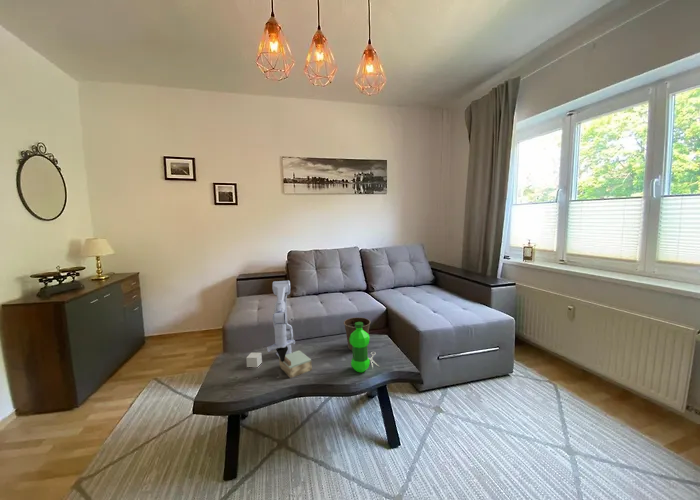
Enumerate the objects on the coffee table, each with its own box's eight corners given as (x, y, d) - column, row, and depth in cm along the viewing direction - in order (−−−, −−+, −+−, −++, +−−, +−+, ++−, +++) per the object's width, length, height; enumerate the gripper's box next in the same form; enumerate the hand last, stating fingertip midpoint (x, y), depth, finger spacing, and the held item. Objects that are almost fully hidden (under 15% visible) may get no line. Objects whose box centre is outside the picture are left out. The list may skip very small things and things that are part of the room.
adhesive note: (262, 362, 161) (261, 352, 161) (257, 368, 156) (257, 357, 155) (251, 362, 162) (251, 352, 161) (247, 368, 156) (246, 357, 155)
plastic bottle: (355, 363, 157) (353, 318, 154) (373, 367, 152) (372, 321, 149) (347, 372, 148) (345, 325, 145) (366, 376, 143) (364, 328, 140)
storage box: (290, 378, 144) (289, 368, 144) (279, 367, 156) (279, 358, 155) (311, 370, 151) (311, 361, 151) (300, 360, 163) (299, 351, 162)
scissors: (373, 350, 171) (386, 366, 152) (373, 351, 171) (386, 367, 152) (356, 352, 169) (367, 369, 149) (356, 354, 169) (367, 370, 149)
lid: (289, 368, 144) (289, 363, 143) (279, 358, 155) (278, 353, 155) (311, 360, 151) (311, 355, 150) (299, 351, 162) (299, 346, 162)
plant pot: (368, 354, 167) (367, 327, 165) (341, 352, 170) (340, 326, 169) (373, 342, 182) (372, 317, 181) (348, 341, 186) (347, 316, 184)
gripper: (269, 341, 140) (271, 368, 141) (297, 334, 148) (298, 359, 150) (264, 337, 146) (266, 362, 147) (291, 330, 154) (292, 354, 155)
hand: (282, 360), depth 149 cm, fingers closed
